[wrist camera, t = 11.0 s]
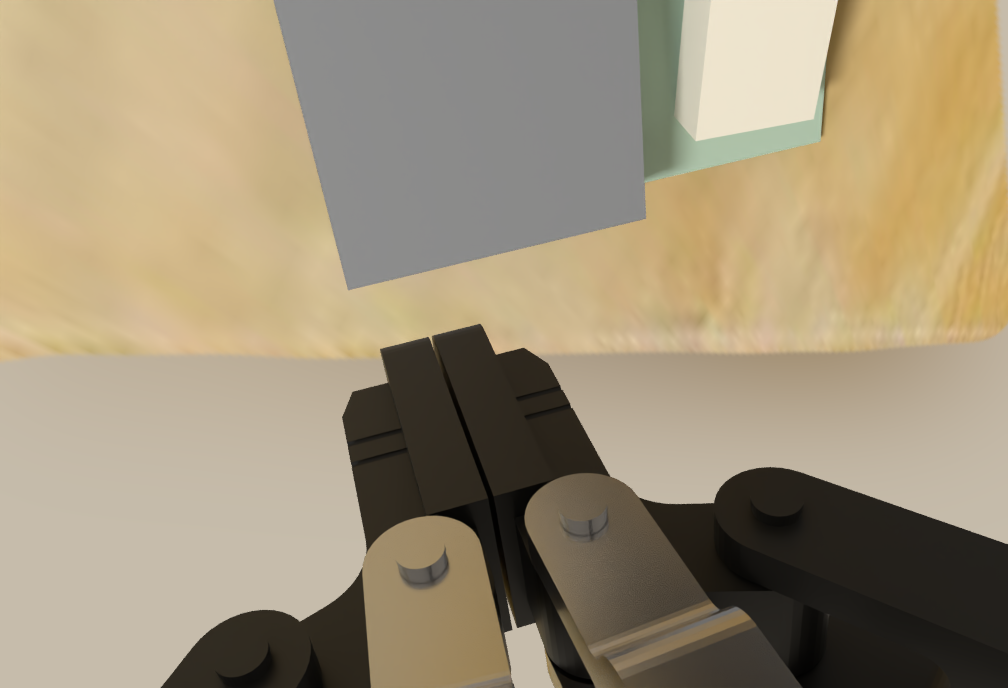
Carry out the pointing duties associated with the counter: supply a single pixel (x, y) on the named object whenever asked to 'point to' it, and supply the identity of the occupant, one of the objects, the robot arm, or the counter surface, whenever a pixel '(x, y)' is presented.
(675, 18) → the mat
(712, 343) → the counter surface
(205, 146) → the counter surface
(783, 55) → the cream rectangular slab
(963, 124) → the counter surface
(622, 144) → the block
